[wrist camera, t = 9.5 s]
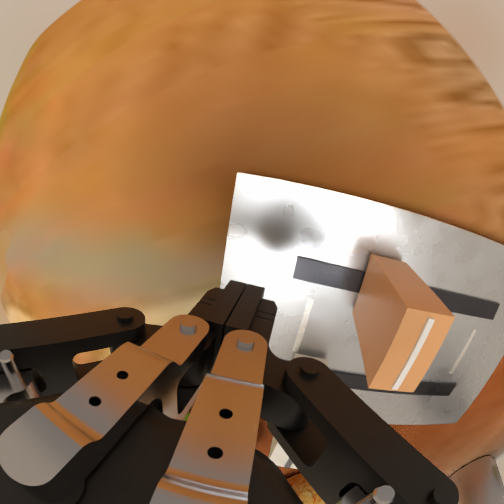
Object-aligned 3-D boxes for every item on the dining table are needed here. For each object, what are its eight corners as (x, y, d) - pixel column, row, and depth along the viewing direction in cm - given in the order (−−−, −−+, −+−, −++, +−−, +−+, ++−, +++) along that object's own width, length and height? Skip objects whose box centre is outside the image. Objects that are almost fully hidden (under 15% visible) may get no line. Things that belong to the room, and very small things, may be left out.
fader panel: (531, 256, 14) (543, 263, 12) (451, 411, 19) (456, 424, 17) (244, 172, 18) (236, 172, 16) (214, 378, 23) (207, 392, 21)
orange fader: (405, 262, 15) (456, 318, 8) (385, 319, 16) (414, 394, 9) (371, 253, 15) (408, 309, 8) (352, 312, 16) (368, 390, 10)
